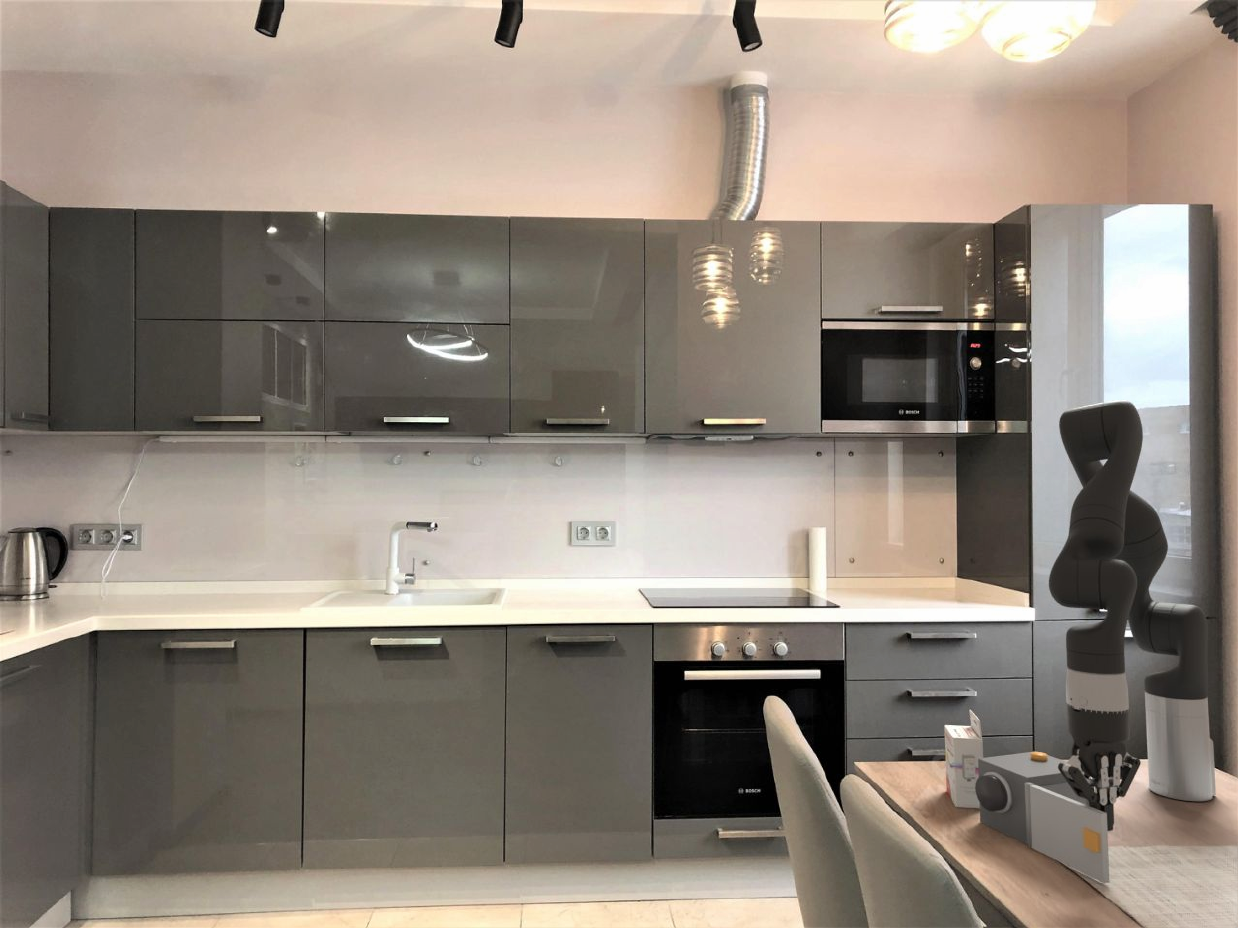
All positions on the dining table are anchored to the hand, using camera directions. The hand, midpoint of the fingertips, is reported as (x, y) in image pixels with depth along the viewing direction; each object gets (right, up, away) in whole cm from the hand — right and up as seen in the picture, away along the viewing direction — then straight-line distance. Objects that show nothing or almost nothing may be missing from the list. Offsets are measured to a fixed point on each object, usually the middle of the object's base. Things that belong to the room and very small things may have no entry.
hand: (1102, 829), depth 111 cm
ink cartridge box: (-7, -8, +28) cm, 30 cm away
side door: (-4, -6, +2) cm, 7 cm away
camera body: (-1, -7, +15) cm, 17 cm away
